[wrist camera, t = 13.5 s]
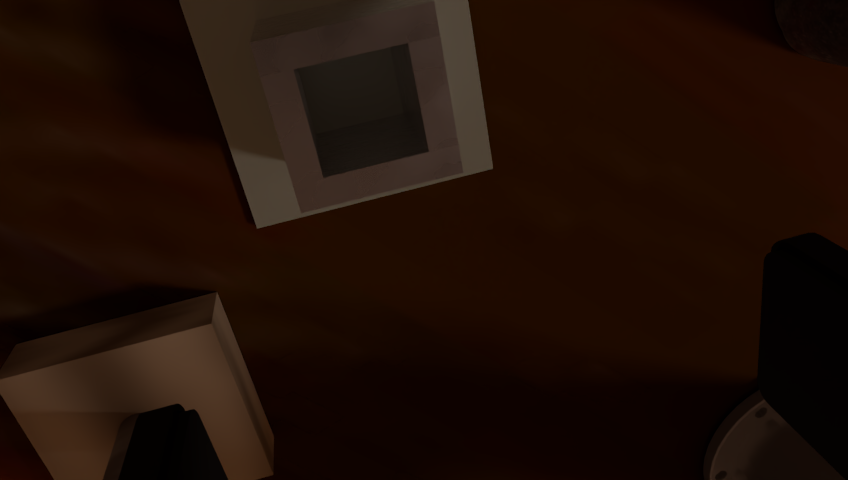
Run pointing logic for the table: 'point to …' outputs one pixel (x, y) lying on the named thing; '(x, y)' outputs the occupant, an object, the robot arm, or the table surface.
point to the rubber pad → (321, 95)
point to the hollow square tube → (369, 141)
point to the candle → (815, 28)
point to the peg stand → (137, 389)
